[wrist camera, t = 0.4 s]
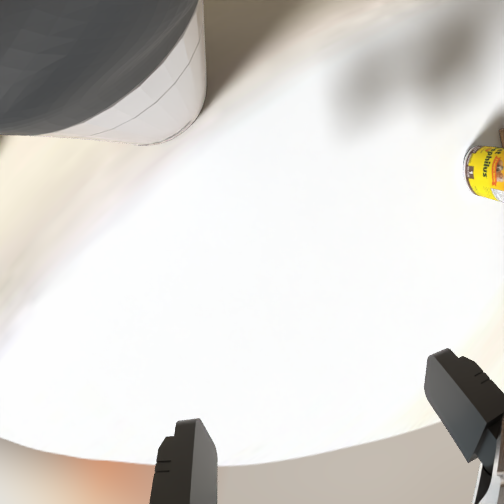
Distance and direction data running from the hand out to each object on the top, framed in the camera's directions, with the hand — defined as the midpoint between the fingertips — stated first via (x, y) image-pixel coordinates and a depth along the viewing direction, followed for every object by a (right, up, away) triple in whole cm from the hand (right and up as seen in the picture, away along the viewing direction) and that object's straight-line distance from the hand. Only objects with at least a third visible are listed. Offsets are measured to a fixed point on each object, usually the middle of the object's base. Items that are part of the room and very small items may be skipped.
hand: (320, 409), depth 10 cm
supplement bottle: (+22, +14, +19) cm, 33 cm away
